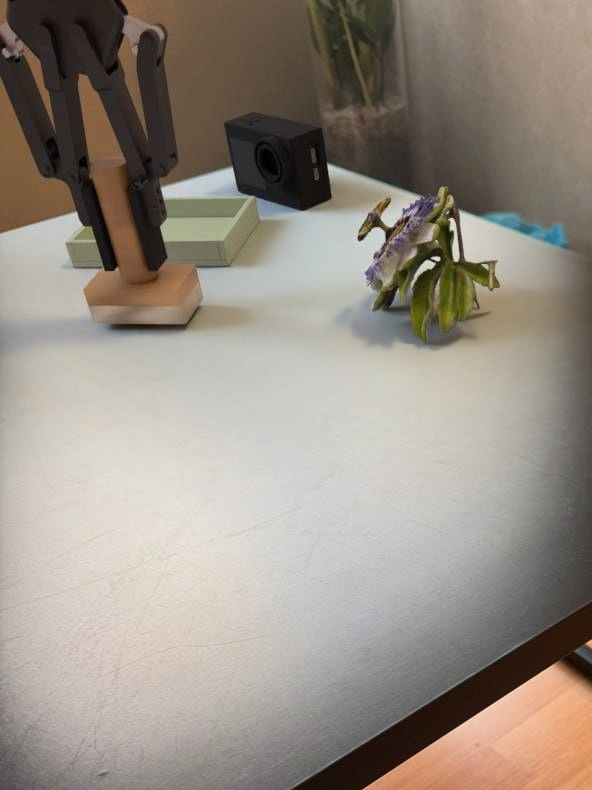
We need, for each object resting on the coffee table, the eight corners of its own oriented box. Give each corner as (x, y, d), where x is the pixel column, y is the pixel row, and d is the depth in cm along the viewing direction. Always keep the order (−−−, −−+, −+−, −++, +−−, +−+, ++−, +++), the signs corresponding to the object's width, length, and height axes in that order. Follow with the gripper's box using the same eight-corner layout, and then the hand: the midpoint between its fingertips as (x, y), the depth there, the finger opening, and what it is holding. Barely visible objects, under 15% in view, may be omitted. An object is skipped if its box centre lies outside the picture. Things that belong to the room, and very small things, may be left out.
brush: (93, 323, 84) (45, 174, 76) (115, 297, 88) (71, 152, 80) (185, 324, 84) (147, 173, 75) (203, 298, 87) (168, 150, 79)
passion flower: (395, 368, 89) (361, 229, 87) (515, 336, 87) (483, 195, 86) (372, 351, 78) (332, 192, 76) (510, 315, 76) (472, 152, 75)
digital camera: (227, 195, 107) (212, 124, 102) (266, 179, 110) (253, 110, 105) (293, 215, 102) (280, 141, 97) (332, 198, 105) (321, 126, 100)
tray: (72, 267, 95) (64, 242, 93) (115, 221, 103) (108, 197, 101) (229, 266, 93) (223, 240, 92) (260, 220, 101) (255, 195, 100)
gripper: (174, -97, 69) (243, 246, 85) (-47, -88, 70) (62, 246, 87) (136, -78, 63) (218, 284, 79) (-103, -70, 65) (24, 283, 81)
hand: (136, 263), depth 83 cm, fingers closed on brush, 3 cm apart
